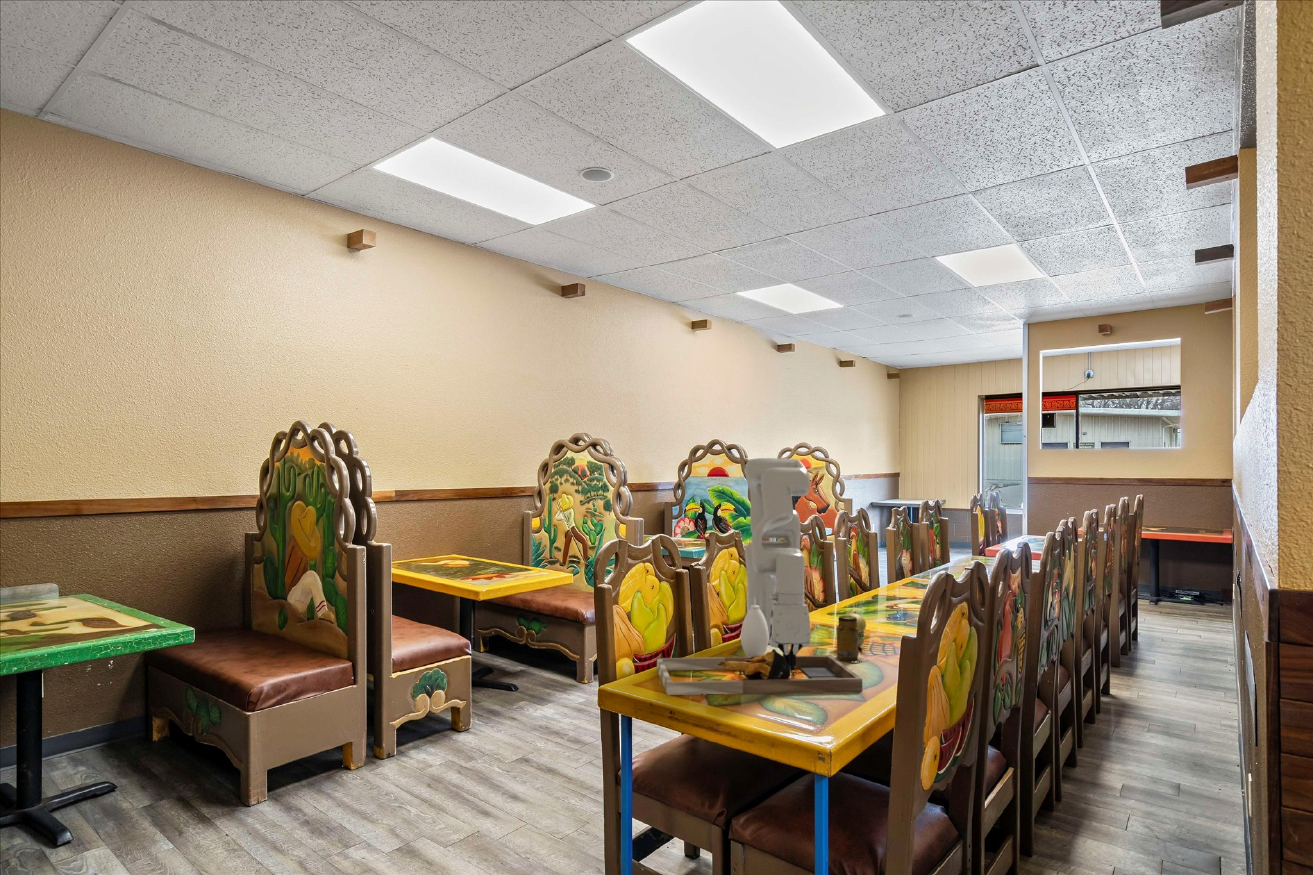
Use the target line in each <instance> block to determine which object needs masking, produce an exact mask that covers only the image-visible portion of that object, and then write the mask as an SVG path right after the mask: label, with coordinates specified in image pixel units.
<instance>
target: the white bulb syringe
mask: <svg viewBox="0 0 1313 875" xmlns="http://www.w3.org/2000/svg"><path fill="white" fill-rule="evenodd" d="M750 608H751V609H750V610H749V611H748V612H747V611H746V614H745V616H744V619H743V622H742V626H741V630H740V631H741V632H740V641H741V648H742V650H743V652H744V653H745V655H746V656H747V657H755V656H759V655H760V656H762V655H765V654H766V653H767V652H766V651H767V648H768V645H769V644H768V640H769V633H768V626H767V623H766V620H765V617H764V615H763V613H762V611H761V610H760V609H759V608H760V607H759V606H758V605H756V597H755V599H754V605H751V607H750Z"/></svg>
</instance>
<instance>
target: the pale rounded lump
mask: <svg viewBox="0 0 1313 875" xmlns="http://www.w3.org/2000/svg"><path fill="white" fill-rule="evenodd" d="M843 616H853V617H855V618H857V627H858V647H860V646H862V645H864V643H865V633H866V632H865V630H866V627H867V622H866V620H865V618H864V617H863V616H862V615H860V614H858V613H857V610H855V611H852V612H847V613H845V614H844V615H843Z"/></svg>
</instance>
